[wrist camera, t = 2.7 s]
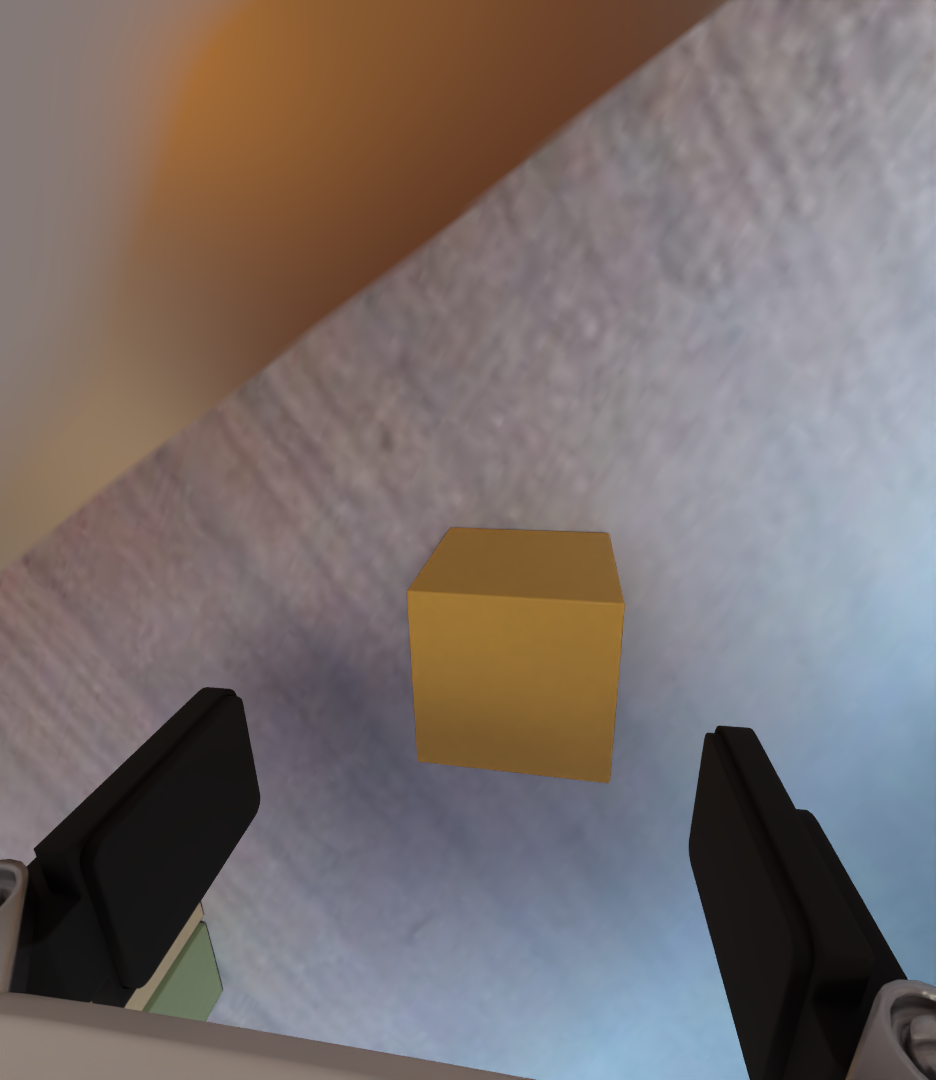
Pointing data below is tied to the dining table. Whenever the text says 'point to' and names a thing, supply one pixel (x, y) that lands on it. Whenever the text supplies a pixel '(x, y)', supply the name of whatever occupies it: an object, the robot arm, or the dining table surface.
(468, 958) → the dining table surface
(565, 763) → the ochre block
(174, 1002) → the block
